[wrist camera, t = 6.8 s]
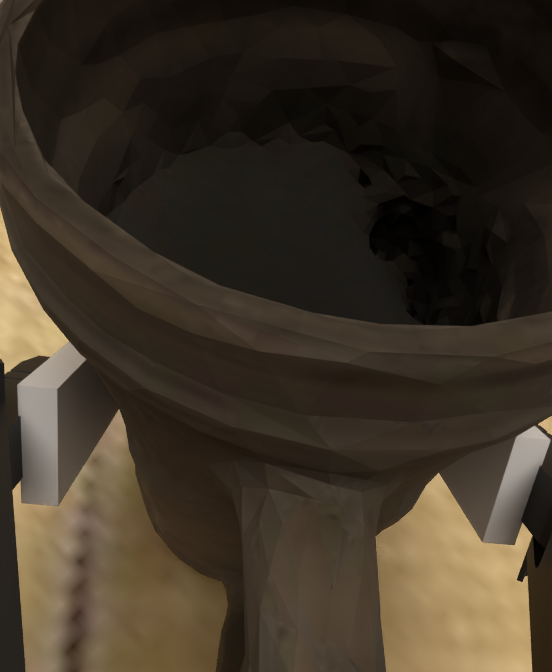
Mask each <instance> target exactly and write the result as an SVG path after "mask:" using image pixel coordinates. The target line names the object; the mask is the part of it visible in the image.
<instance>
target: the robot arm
mask: <svg viewBox="0 0 552 672" xmlns="http://www.w3.org/2000/svg"><path fill="white" fill-rule="evenodd" d="M118 410H119V406H118V405H117V403H116V402H115V400H114V398H113V397H112V395H111V394H110V392H109V391H108V389H107V388H106V386H105V384H104V383H103V381H102V380H101V378H100V377H99V375H98V374H97V372H96V371H95V369H94V367H93V366H92V364H91V363H90V362H89V361H88V360H87V359H86V358H84V357H83V356H82V355H81V354H80V353H79V352H78V351H77V350H76V349H75V347H74V346H73V345H72V344H71V342H68V343H67V344H66V345H65V346H64V347H62V348H61V349H60V350H59V351H58V352H56V353H55V354H54V355H53V356H51V357H45V356H37V357H34V358H31V359H28V360H26V361H23V362H21V363H19V364H18V365H17V366H15V367H14V368H13V369H11V372H7V373H6V374H5V375H4V363H3V361H2V360H1V359H0V672H26V671H25V657H24V644H23V630H22V617H21V603H20V589H19V576H18V562H17V549H16V535H15V522H14V508H13V494H12V490H13V489H14V488H15V486H16V485H17V484H18V483H19V481H20V480H21V502H22V503H28V504H40V505H51V506H59V504H60V502H61V501H62V499H63V498H64V496H65V494H66V493H67V491H68V490H69V488H70V486H71V485H72V483H73V482H74V480H75V478H76V477H77V475H78V474H79V472H80V470H81V469H82V467H83V466H84V464H85V462H86V461H87V459H88V458H89V456H90V454H91V453H92V451H93V450H94V448H95V446H96V445H97V443H98V442H99V440H100V438H101V437H102V435H103V434H104V432H105V430H106V429H107V427H108V426H109V424H110V422H111V421H112V419H113V418H114V416H115V414H116V413H117V411H118ZM439 473H440V475H441V477H442V478H443V480H444V481H445V483H446V485H447V486H448V488H449V489H450V491H451V493H452V494H453V496H454V498H455V499H456V501H457V502H458V504H459V506H460V507H461V509H462V510H463V512H464V514H465V515H466V517H467V518H468V520H469V522H470V523H471V525H472V526H473V528H474V530H475V531H476V533H477V534H478V536H479V538H480V539H481V541H482V542H484V543H495V544H507V545H515V542H516V539H517V536H518V533H519V530H520V527H521V525H522V522H523V524H524V525H525V526H526V527H527V529H528V530H529V531H530V533H531V534H532V535H533V536H532V539H531V542H530V544H529V547H528V550H527V553H526V556H525V558H524V561H523V564H522V567H521V570H520V572H519V575H518V578H517V580H518V581H521V582H523V579H524V577H525V576H528V591H529V611H530V631H531V651H532V672H552V435H551V434H547V431H546V430H545V429H544V428H542V427H541V426H538V424H537V425H535V426H533V427H532V428H530V429H528V430H527V431H525V432H523V433H522V434H520V435H518V436H517V437H515V438H512V439H509V440H506V441H503V442H501V443H498V444H495V445H492V446H489V447H486V448H483V449H481V450H478V451H475V452H472V453H469V454H468V455H466V456H465V457H463V458H461V459H460V460H458V461H456V462H455V463H453V464H451V465H450V466H448V467H447V468H445V469H443V470H442V471H440V472H439Z"/></svg>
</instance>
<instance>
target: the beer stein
mask: <svg viewBox="0 0 552 672" xmlns="http://www.w3.org/2000/svg"><path fill="white" fill-rule="evenodd" d="M0 207H1V211H2V215H3V219H4V223H5V226H6V230H7V234H8V238H9V242H10V246H11V249H12V252H13V253H14V255H15V257H16V259H17V261H18V263H19V265H20V267H21V268H22V270H23V272H24V274H25V276H26V278H27V280H28V282H29V284H30V285H31V287H32V289H33V291H34V293H35V295H36V297H37V299H38V300H39V302H40V304H41V306H42V308H43V310H44V311H45V312H46V313H47V315H48V316H49V317H50V318H51V319H52V321H53V322H54V323H55V324H56V325H57V327H58V328H59V329H60V330H61V332H62V333H63V334H64V335H65V336H66V338H67V339H68V340H69V341H70V342H71V344H72V345H73V346H74V347H75V349H76V350H77V351H78V352H79V353H80V354H81V355H82V356H83V357H84V358H86V359H87V360H88V361H89V362H90V363H91V364H92V366H93V367H94V369H95V371H96V372H97V374H98V375H99V377H100V378H101V380H102V381H103V383H104V384H105V386H106V388H107V389H108V391H109V392H110V394H111V395H112V397H113V398H114V400H115V402H116V403H117V405H118V406H119V409H120V412H121V415H122V417H123V420H124V423H125V425H126V431H127V438H128V444H129V450H130V453H131V455H132V458H133V460H134V463H135V470H136V476H137V480H138V483H139V486H140V490H141V493H142V496H143V499H144V502H145V506H146V509H147V512H148V515H149V517H150V519H151V522H152V524H153V526H154V528H155V531H156V532H157V533H158V534H159V536H160V537H161V538H162V539H163V540H164V542H165V543H166V544H167V545H168V546H169V548H170V549H171V550H172V551H173V552H174V554H175V555H176V556H177V557H178V558H179V559H181V560H182V561H184V562H185V563H186V564H188V565H189V566H191V567H192V568H194V569H195V570H197V571H198V572H200V573H202V574H204V575H206V576H208V577H211V578H214V579H217V580H220V581H222V582H223V584H224V586H225V588H226V592H227V600H228V609H227V615H226V618H225V621H224V625H223V628H222V631H221V637H220V644H219V651H218V659H217V667H216V672H386V667H385V657H384V648H383V638H382V628H381V619H380V599H379V584H378V569H377V555H376V540H375V536H377V535H378V534H379V533H380V532H381V531H382V530H384V529H386V528H388V527H390V526H391V525H393V524H395V523H396V522H397V521H399V520H400V519H401V518H402V517H403V516H404V515H406V514H407V513H408V512H409V511H410V510H411V509H412V508H413V506H414V505H415V503H416V501H417V500H418V498H419V496H420V495H421V493H422V491H423V490H424V488H425V486H426V485H427V484H428V483H429V482H430V481H431V480H432V479H433V478H434V477H435V476H436V475H437V474H438V473H439V472H440V471H442V470H443V469H445V468H447V467H448V466H450V465H451V464H453V463H455V462H456V461H458V460H460V459H461V458H463V457H465V456H466V455H468V454H469V453H472V452H475V451H478V450H481V449H483V448H486V447H489V446H492V445H495V444H498V443H501V442H503V441H506V440H509V439H512V438H515V437H517V436H518V435H520V434H522V433H523V432H525V431H527V430H528V429H530V428H532V427H533V426H535V425H537V424H538V423H540V422H542V421H543V420H545V419H547V418H548V417H550V416H552V0H3V1H2V2H1V3H0Z"/></svg>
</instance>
